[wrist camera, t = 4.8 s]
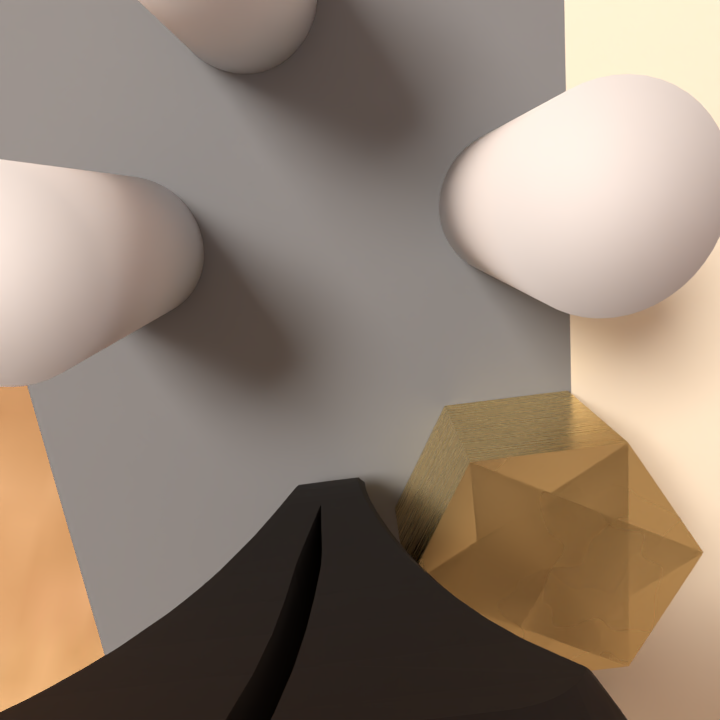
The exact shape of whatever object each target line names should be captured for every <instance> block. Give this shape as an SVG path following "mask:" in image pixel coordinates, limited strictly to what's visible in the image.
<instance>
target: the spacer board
mask: <svg viewBox="0 0 720 720" xmlns="http://www.w3.org/2000/svg"><path fill="white" fill-rule="evenodd" d="M26 385H27V386H28V390H29V393H30V397H31V400H32V404H33V407H34V411H35V414H36V418H37V421H38V425H39V428H40V431H41V435H42V438H43V442H44V445H45V449H46V452H47V456H48V459H49V463H50V466H51V470H52V473H53V477H54V480H55V484H56V487H57V490H58V494H59V497H60V501H61V504H62V508H63V511H64V515H65V518H66V522H67V525H68V529H69V532H70V536H71V539H72V543H73V546H74V550H75V553H76V556H77V560H78V563H79V567H80V570H81V574H82V577H83V581H84V584H85V588H86V591H87V595H88V598H89V602H90V605H91V609H92V612H93V615H94V619H95V622H96V626H97V629H98V633H99V636H100V640H101V643H102V647H103V650H104V654H105V655H107V654H108V653H110V652H112V651H113V650H115V649H117V648H118V647H120V646H121V645H123V644H124V643H126V642H127V641H128V640H130V639H131V638H133V637H134V636H136V635H137V634H139V633H140V632H141V631H143V630H144V629H146V628H147V627H149V626H150V625H152V624H153V623H155V622H156V621H157V620H159V619H160V618H162V617H163V616H165V615H166V614H168V613H169V612H170V611H172V610H173V609H174V608H176V607H177V606H178V605H179V604H181V603H182V602H183V601H184V600H186V599H187V598H188V597H189V596H191V595H192V594H193V593H194V592H196V591H197V590H198V589H199V588H200V587H202V586H203V585H204V584H205V583H206V582H207V581H209V580H210V579H211V578H212V577H213V576H214V575H215V574H216V573H217V572H219V571H220V570H221V569H222V568H223V567H224V566H225V565H226V564H227V563H228V562H229V561H230V560H231V559H232V558H233V557H234V556H235V555H236V554H237V553H238V552H239V551H240V550H241V549H242V548H243V547H244V546H245V545H246V544H247V543H248V542H249V541H250V540H251V539H252V538H253V537H254V536H255V534H256V533H257V532H258V531H259V530H260V529H261V528H262V527H263V525H264V524H265V523H266V522H267V521H268V520H269V519H270V517H271V516H272V515H273V514H274V513H275V512H276V510H277V509H278V508H279V507H280V506H281V505H282V503H283V502H284V501H285V500H286V499H287V497H288V496H289V495H290V494H291V493H292V491H293V490H294V489H295V488H296V487H297V486H298V485H301V484H309V483H317V482H325V481H333V480H341V479H349V478H357V477H359V478H360V479H361V480H362V481H364V482H365V486H366V491H367V494H368V496H369V498H370V500H371V502H372V504H373V506H374V507H375V509H376V511H377V512H378V514H379V516H380V517H381V518H382V520H383V521H384V523H385V524H386V526H387V527H388V529H389V530H390V531H391V533H392V534H393V535H394V537H395V538H396V539H397V540H398V542H399V543H400V539H399V532H398V525H397V517H396V510H395V507H396V505H397V503H398V501H399V499H400V497H401V495H402V493H403V491H404V489H405V486H406V484H407V482H408V480H409V478H410V476H411V474H412V472H413V470H414V468H415V466H416V464H417V462H418V460H419V458H420V455H421V453H422V451H423V449H424V447H425V445H426V443H427V441H428V439H429V437H430V435H431V433H432V431H433V429H434V427H435V425H436V422H437V420H438V418H439V416H440V414H441V412H442V410H443V408H444V406H447V405H455V404H463V403H471V402H479V401H487V400H495V399H504V398H512V397H520V396H528V395H536V394H544V393H552V392H560V391H569V392H570V393H571V394H572V395H574V396H575V397H576V398H577V399H578V400H579V401H581V402H582V403H583V404H584V405H585V406H586V407H587V408H589V409H590V410H591V411H592V412H593V413H594V414H596V415H597V416H598V417H599V418H600V419H601V420H603V421H604V422H605V423H606V424H607V425H608V426H610V427H611V428H612V429H613V430H614V431H615V432H617V433H618V434H619V435H620V436H621V437H622V438H624V439H625V440H626V441H627V442H628V443H629V444H630V446H631V447H632V449H633V450H634V452H635V453H636V455H637V456H638V457H639V459H640V460H641V462H642V463H643V465H644V466H645V468H646V469H647V471H648V472H649V474H650V475H651V476H652V478H653V479H654V481H655V482H656V484H657V485H658V487H659V488H660V490H661V491H662V493H663V494H664V495H665V497H666V498H667V500H668V501H669V503H670V504H671V506H672V507H673V509H674V510H675V512H676V513H677V514H678V516H679V517H680V519H681V520H682V522H683V523H684V525H685V526H686V528H687V529H688V531H689V532H690V533H691V535H692V536H693V538H694V539H695V541H696V542H697V544H698V545H699V547H700V548H701V549H702V551H703V552H704V553H703V554H702V556H701V557H700V559H699V560H698V562H697V563H696V565H695V566H694V568H693V569H692V571H691V572H690V574H689V575H688V577H687V578H686V580H685V582H684V583H683V585H682V586H681V588H680V589H679V591H678V592H677V594H676V595H675V597H674V598H673V600H672V601H671V603H670V604H669V606H668V607H667V609H666V610H665V612H664V613H663V615H662V616H661V618H660V620H659V621H658V623H657V624H656V626H655V627H654V629H653V630H652V632H651V633H650V635H649V636H648V638H647V639H646V641H645V642H644V644H643V645H642V647H641V648H640V650H639V651H638V653H637V654H636V656H635V658H634V659H633V661H632V662H631V664H630V665H629V666H627V667H619V668H610V669H601V670H592V673H593V674H594V675H595V677H596V678H597V679H598V680H599V682H600V683H601V684H602V686H603V687H604V688H605V690H606V691H607V692H608V694H609V695H610V696H611V698H612V699H613V700H614V702H615V703H616V704H617V706H618V707H619V708H620V710H621V711H622V713H623V714H624V715H625V717H626V718H627V720H720V0H0V386H1V387H17V386H26Z"/></svg>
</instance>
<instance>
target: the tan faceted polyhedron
mask: <svg viewBox="0 0 720 720" xmlns="http://www.w3.org/2000/svg"><path fill="white" fill-rule="evenodd" d="M395 510H396V517H397V525H398V532H399V539H400V544H401V545H402V546H403V547H404V549H405V550H406V551H407V552H408V553H409V554H410V555H411V557H412V558H413V559H414V560H415V561H416V562H417V563H418V564H419V565H420V566H421V567H422V568H423V569H424V570H425V571H426V572H427V573H428V574H429V575H431V576H432V577H433V578H434V579H435V580H436V581H437V582H438V583H439V584H441V585H442V586H443V587H444V588H445V589H447V590H448V591H449V592H450V593H451V594H453V595H454V596H455V597H456V598H458V599H459V600H461V601H462V602H464V603H465V604H467V605H468V606H469V607H471V608H472V609H474V610H475V611H477V612H478V613H480V614H481V615H482V616H484V617H485V618H487V619H489V620H490V621H492V622H494V623H496V624H497V625H499V626H501V627H503V628H505V629H506V630H508V631H510V632H512V633H513V634H515V635H517V636H519V637H521V638H523V639H525V640H527V641H529V642H531V643H533V644H536V645H538V646H540V647H542V648H545V649H547V650H549V651H551V652H554V653H556V654H558V655H560V656H563V657H565V658H567V659H569V660H572V661H574V662H576V663H578V664H581V665H583V666H585V667H587V668H588V669H589V670H591V671H592V670H601V669H610V668H619V667H627V666H629V665H630V664H631V662H632V661H633V659H634V658H635V656H636V654H637V653H638V651H639V650H640V648H641V647H642V645H643V644H644V642H645V641H646V639H647V638H648V636H649V635H650V633H651V632H652V630H653V629H654V627H655V626H656V624H657V623H658V621H659V620H660V618H661V616H662V615H663V613H664V612H665V610H666V609H667V607H668V606H669V604H670V603H671V601H672V600H673V598H674V597H675V595H676V594H677V592H678V591H679V589H680V588H681V586H682V585H683V583H684V582H685V580H686V578H687V577H688V575H689V574H690V572H691V571H692V569H693V568H694V566H695V565H696V563H697V562H698V560H699V559H700V557H701V556H702V554H703V553H704V552H703V551H702V549H701V548H700V547H699V545H698V544H697V542H696V541H695V539H694V538H693V536H692V535H691V533H690V532H689V531H688V529H687V528H686V526H685V525H684V523H683V522H682V520H681V519H680V517H679V516H678V514H677V513H676V512H675V510H674V509H673V507H672V506H671V504H670V503H669V501H668V500H667V498H666V497H665V495H664V494H663V493H662V491H661V490H660V488H659V487H658V485H657V484H656V482H655V481H654V479H653V478H652V476H651V475H650V474H649V472H648V471H647V469H646V468H645V466H644V465H643V463H642V462H641V460H640V459H639V457H638V456H637V455H636V453H635V452H634V450H633V449H632V447H631V446H630V444H629V443H628V442H627V441H626V440H625V439H624V438H622V437H621V436H620V435H619V434H618V433H617V432H615V431H614V430H613V429H612V428H611V427H610V426H608V425H607V424H606V423H605V422H604V421H603V420H601V419H600V418H599V417H598V416H597V415H596V414H594V413H593V412H592V411H591V410H590V409H589V408H587V407H586V406H585V405H584V404H583V403H582V402H581V401H579V400H578V399H577V398H576V397H575V396H574V395H572V394H571V393H570V392H569V391H560V392H552V393H544V394H536V395H528V396H520V397H512V398H504V399H495V400H487V401H479V402H471V403H463V404H455V405H447V406H444V408H443V410H442V412H441V414H440V416H439V418H438V420H437V422H436V425H435V427H434V429H433V431H432V433H431V435H430V437H429V439H428V441H427V443H426V445H425V447H424V449H423V451H422V453H421V455H420V458H419V460H418V462H417V464H416V466H415V468H414V470H413V472H412V474H411V476H410V478H409V480H408V482H407V484H406V486H405V489H404V491H403V493H402V495H401V497H400V499H399V501H398V503H397V505H396V507H395Z"/></svg>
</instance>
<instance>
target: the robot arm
mask: <svg viewBox="0 0 720 720" xmlns="http://www.w3.org/2000/svg"><path fill="white" fill-rule="evenodd" d="M0 720H627V718H626V717H625V715H624V714H623V713H622V711H621V710H620V708H619V707H618V706H617V704H616V703H615V702H614V700H613V699H612V698H611V696H610V695H609V694H608V692H607V691H606V690H605V688H604V687H603V686H602V684H601V683H600V682H599V680H598V679H597V678H596V677H595V675H594V674H593V673H592V671H591V670H589V669H588V668H587V667H585V666H583V665H581V664H578V663H576V662H574V661H572V660H569V659H567V658H565V657H563V656H560V655H558V654H556V653H554V652H551V651H549V650H547V649H545V648H542V647H540V646H538V645H536V644H533V643H531V642H529V641H527V640H525V639H523V638H521V637H519V636H517V635H515V634H513V633H512V632H510V631H508V630H506V629H505V628H503V627H501V626H499V625H497V624H496V623H494V622H492V621H490V620H489V619H487V618H485V617H484V616H482V615H481V614H480V613H478V612H477V611H475V610H474V609H472V608H471V607H469V606H468V605H467V604H465V603H464V602H462V601H461V600H459V599H458V598H456V597H455V596H454V595H453V594H451V593H450V592H449V591H448V590H447V589H445V588H444V587H443V586H442V585H441V584H439V583H438V582H437V581H436V580H435V579H434V578H433V577H432V576H431V575H429V574H428V573H427V572H426V571H425V570H424V569H423V568H422V567H421V566H420V565H419V564H418V563H417V562H416V561H415V560H414V559H413V558H412V557H411V555H410V554H409V553H408V552H407V551H406V550H405V549H404V547H403V546H402V545H401V544H400V543H399V542H398V540H397V539H396V538H395V537H394V535H393V534H392V533H391V531H390V530H389V529H388V527H387V526H386V524H385V523H384V521H383V520H382V518H381V517H380V516H379V514H378V512H377V511H376V509H375V507H374V506H373V504H372V502H371V500H370V498H369V496H368V494H367V491H366V486H365V482H364V481H362V480H361V479H360V478H359V477H357V478H349V479H341V480H333V481H325V482H317V483H309V484H301V485H298V486H297V487H296V488H295V489H294V490H293V491H292V493H291V494H290V495H289V496H288V497H287V499H286V500H285V501H284V502H283V503H282V505H281V506H280V507H279V508H278V509H277V510H276V512H275V513H274V514H273V515H272V516H271V517H270V519H269V520H268V521H267V522H266V523H265V524H264V525H263V527H262V528H261V529H260V530H259V531H258V532H257V533H256V534H255V536H254V537H253V538H252V539H251V540H250V541H249V542H248V543H247V544H246V545H245V546H244V547H243V548H242V549H241V550H240V551H239V552H238V553H237V554H236V555H235V556H234V557H233V558H232V559H231V560H230V561H229V562H228V563H227V564H226V565H225V566H224V567H223V568H222V569H221V570H220V571H219V572H217V573H216V574H215V575H214V576H213V577H212V578H211V579H210V580H209V581H207V582H206V583H205V584H204V585H203V586H202V587H200V588H199V589H198V590H197V591H196V592H194V593H193V594H192V595H191V596H189V597H188V598H187V599H186V600H184V601H183V602H182V603H181V604H179V605H178V606H177V607H176V608H174V609H173V610H172V611H170V612H169V613H168V614H166V615H165V616H163V617H162V618H160V619H159V620H157V621H156V622H155V623H153V624H152V625H150V626H149V627H147V628H146V629H144V630H143V631H141V632H140V633H139V634H137V635H136V636H134V637H133V638H131V639H130V640H128V641H127V642H126V643H124V644H123V645H121V646H120V647H118V648H117V649H115V650H113V651H112V652H110V653H108V654H107V655H105V656H104V657H102V658H100V659H99V660H97V661H95V662H94V663H92V664H90V665H89V666H87V667H85V668H84V669H82V670H80V671H78V672H76V673H75V674H73V675H71V676H69V677H68V678H66V679H64V680H62V681H60V682H59V683H57V684H55V685H53V686H51V687H50V688H48V689H46V690H44V691H42V692H40V693H38V694H36V695H35V696H33V697H31V698H29V699H27V700H25V701H23V702H21V703H19V704H17V705H14V706H12V707H10V708H8V709H6V710H4V711H2V712H0Z"/></svg>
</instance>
